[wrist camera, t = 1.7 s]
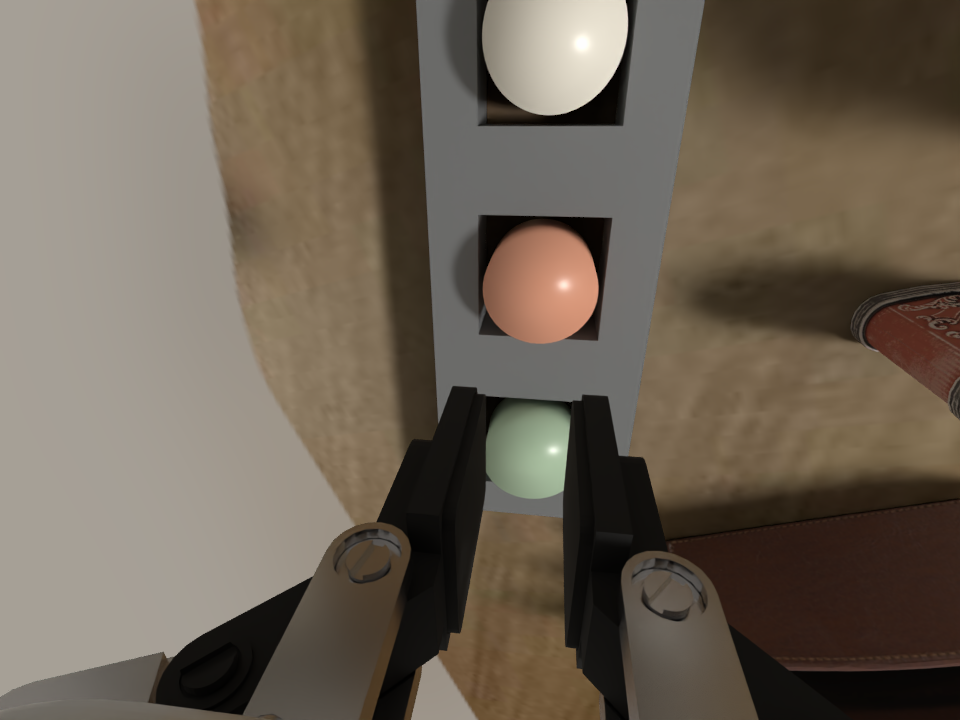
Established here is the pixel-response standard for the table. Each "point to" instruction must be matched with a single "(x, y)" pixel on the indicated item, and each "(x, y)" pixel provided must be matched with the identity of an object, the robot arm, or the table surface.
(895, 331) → the lighter
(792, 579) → the letter holder
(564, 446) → the sage button
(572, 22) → the cream button
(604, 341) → the button panel
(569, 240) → the terracotta button
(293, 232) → the table surface
